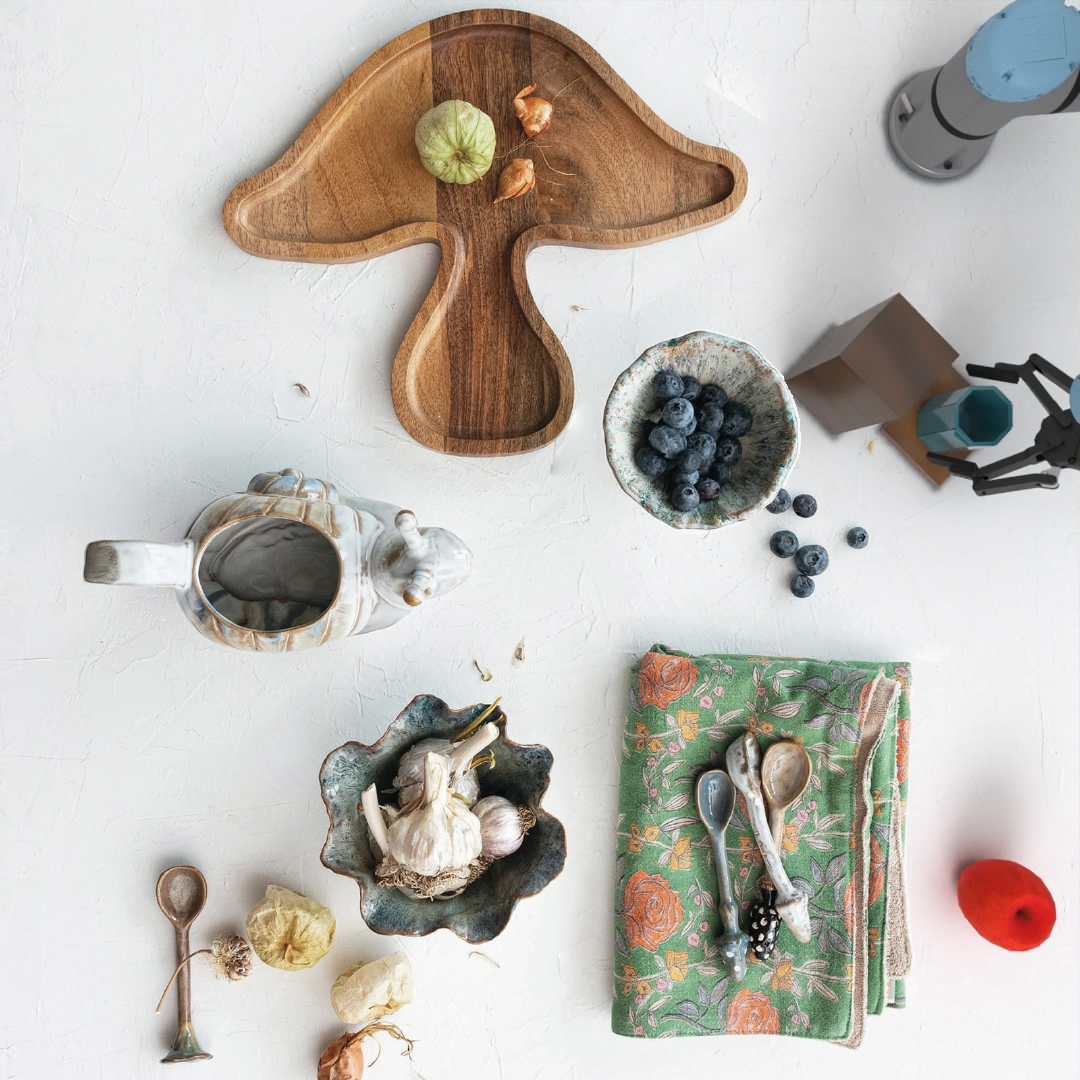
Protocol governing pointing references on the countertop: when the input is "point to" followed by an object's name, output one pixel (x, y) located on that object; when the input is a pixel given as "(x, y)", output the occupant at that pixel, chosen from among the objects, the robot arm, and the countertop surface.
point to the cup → (965, 419)
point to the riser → (871, 367)
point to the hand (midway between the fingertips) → (948, 413)
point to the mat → (906, 429)
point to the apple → (1006, 904)
